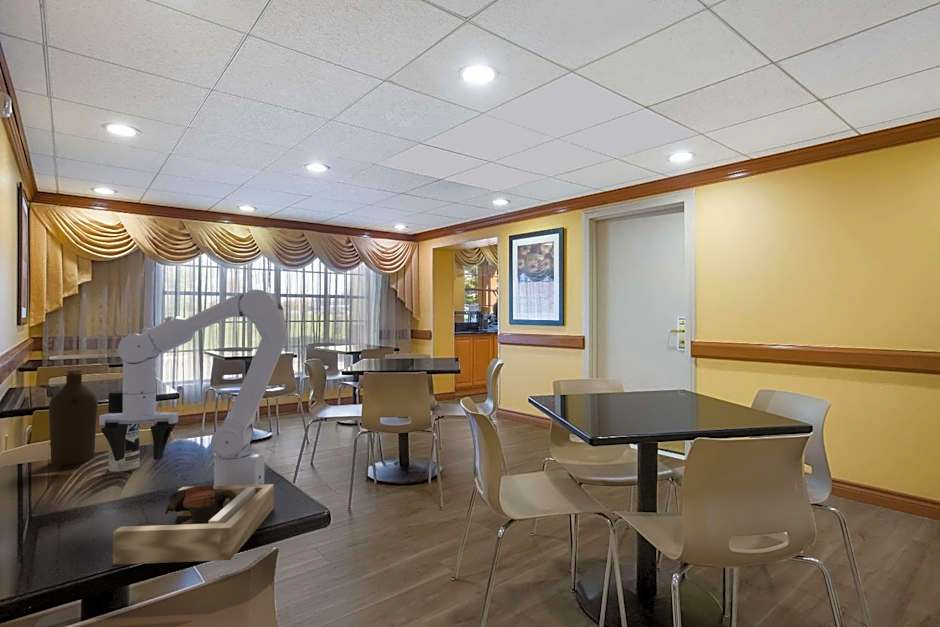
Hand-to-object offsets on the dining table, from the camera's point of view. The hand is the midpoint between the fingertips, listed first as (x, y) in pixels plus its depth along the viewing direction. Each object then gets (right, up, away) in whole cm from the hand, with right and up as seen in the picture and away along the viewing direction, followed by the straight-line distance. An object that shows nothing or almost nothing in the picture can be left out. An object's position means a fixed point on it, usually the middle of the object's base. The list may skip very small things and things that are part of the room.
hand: (139, 459), depth 105 cm
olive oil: (-41, -11, +35) cm, 55 cm away
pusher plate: (+26, -9, -14) cm, 31 cm away
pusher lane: (+21, -9, -15) cm, 27 cm away
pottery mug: (+20, -10, -13) cm, 26 cm away
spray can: (-21, -10, +26) cm, 35 cm away
